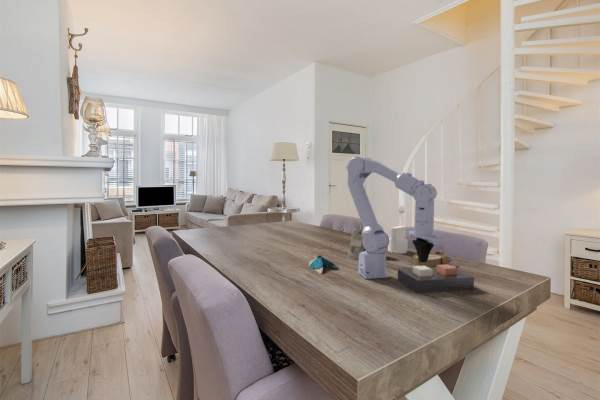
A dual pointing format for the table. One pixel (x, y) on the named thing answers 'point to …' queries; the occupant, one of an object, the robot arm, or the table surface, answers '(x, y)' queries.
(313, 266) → the decorative butterfly
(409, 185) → the robot arm
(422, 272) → the cream key
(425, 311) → the table surface
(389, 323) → the table surface
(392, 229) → the cream upright block
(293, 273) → the table surface
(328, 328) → the table surface
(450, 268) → the red key
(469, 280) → the grey flat block
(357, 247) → the ceramic cottage
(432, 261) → the alarm clock
